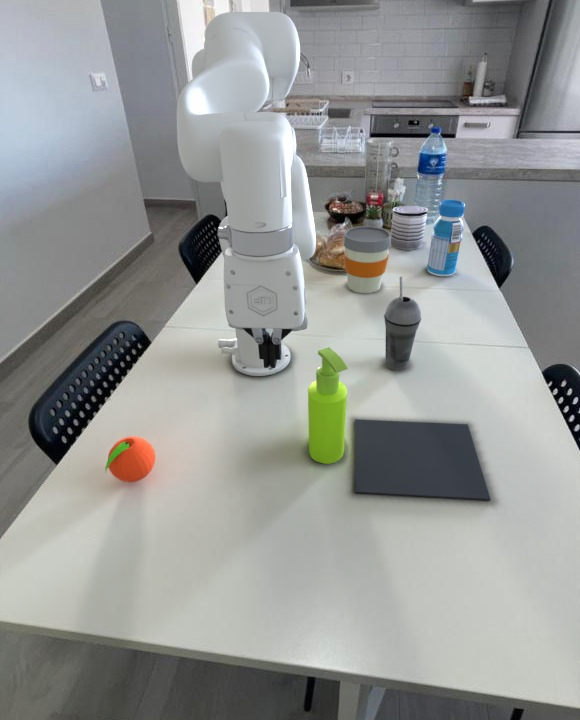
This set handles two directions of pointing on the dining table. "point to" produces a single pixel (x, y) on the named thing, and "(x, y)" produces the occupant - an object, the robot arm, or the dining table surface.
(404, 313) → the beverage cup
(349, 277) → the reusable coffee cup
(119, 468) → the clementine
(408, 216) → the white striped cylinder
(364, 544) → the dining table surface
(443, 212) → the beverage bottle
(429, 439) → the placemat
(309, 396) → the soap dispenser
